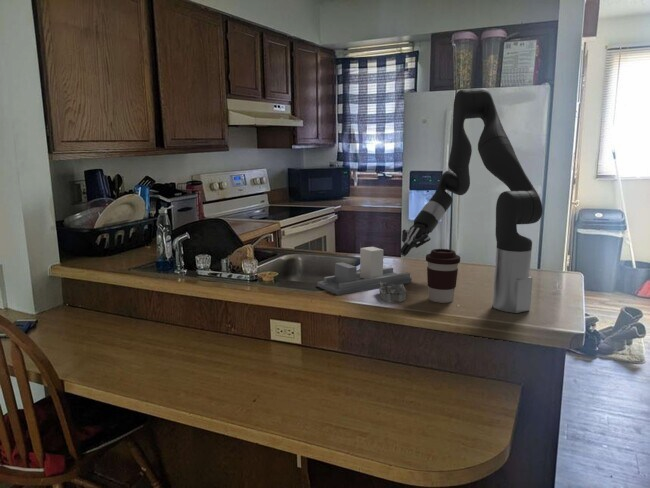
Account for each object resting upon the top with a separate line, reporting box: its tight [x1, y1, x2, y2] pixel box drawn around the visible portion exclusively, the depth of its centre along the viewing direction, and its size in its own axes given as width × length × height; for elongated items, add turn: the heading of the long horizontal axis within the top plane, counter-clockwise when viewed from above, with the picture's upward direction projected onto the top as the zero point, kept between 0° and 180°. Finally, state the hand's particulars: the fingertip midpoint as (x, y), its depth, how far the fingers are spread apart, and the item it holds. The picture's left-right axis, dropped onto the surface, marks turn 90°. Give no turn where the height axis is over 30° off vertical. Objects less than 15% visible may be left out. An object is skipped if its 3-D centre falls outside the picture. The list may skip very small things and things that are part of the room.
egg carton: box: [378, 281, 407, 303], centre depth 155 cm, size 11×8×4 cm
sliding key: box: [359, 246, 384, 279], centre depth 170 cm, size 6×5×10 cm
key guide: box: [316, 267, 413, 296], centre depth 169 cm, size 12×30×3 cm, turn 122°
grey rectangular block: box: [334, 262, 358, 283], centre depth 165 cm, size 8×4×6 cm, turn 32°
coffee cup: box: [425, 248, 461, 304], centre depth 151 cm, size 10×10×15 cm
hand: (402, 254), depth 176 cm, fingers closed
